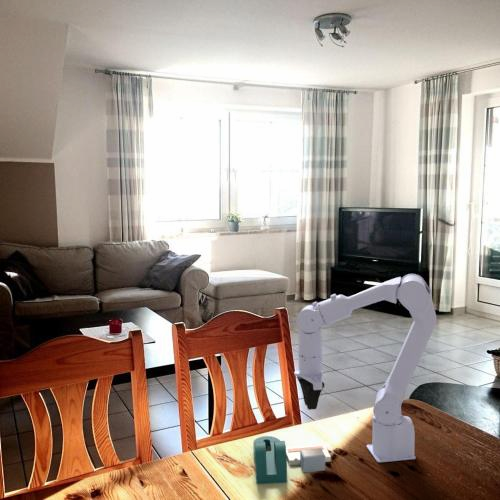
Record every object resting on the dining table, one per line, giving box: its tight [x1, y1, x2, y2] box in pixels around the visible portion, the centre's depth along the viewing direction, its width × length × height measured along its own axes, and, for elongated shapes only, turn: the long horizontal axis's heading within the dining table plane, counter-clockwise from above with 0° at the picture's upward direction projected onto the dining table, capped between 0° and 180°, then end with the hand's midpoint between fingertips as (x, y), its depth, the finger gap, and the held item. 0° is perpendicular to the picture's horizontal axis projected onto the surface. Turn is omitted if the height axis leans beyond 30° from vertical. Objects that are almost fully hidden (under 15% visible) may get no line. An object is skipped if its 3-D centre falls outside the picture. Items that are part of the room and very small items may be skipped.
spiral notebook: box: [286, 444, 332, 466], centre depth 131 cm, size 10×6×1 cm, turn 98°
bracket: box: [252, 435, 288, 485], centre depth 129 cm, size 18×7×8 cm, turn 2°
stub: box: [299, 448, 326, 473], centre depth 126 cm, size 5×4×4 cm
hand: (310, 406), depth 136 cm, fingers closed
